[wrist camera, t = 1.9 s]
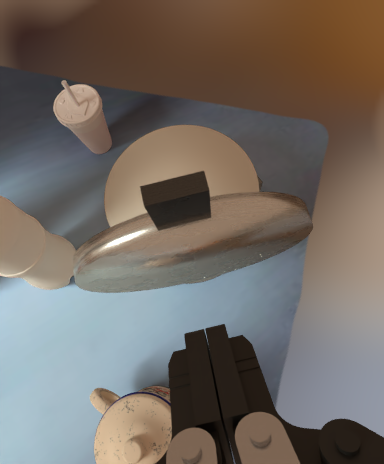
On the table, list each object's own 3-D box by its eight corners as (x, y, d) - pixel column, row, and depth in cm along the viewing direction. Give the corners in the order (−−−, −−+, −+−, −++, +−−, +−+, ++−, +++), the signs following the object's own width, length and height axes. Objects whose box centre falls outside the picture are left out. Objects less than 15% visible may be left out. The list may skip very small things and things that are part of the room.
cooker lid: (283, 245, 37) (287, 258, 37) (114, 286, 37) (116, 300, 37) (369, 124, 16) (382, 152, 15) (-27, 222, 16) (-26, 253, 15)
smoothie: (92, 169, 54) (49, 110, 40) (74, 140, 56) (27, 75, 42) (127, 147, 54) (97, 83, 41) (108, 119, 56) (73, 49, 43)
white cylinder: (102, 242, 50) (73, 217, 40) (173, 142, 54) (162, 98, 44) (210, 309, 45) (206, 299, 36) (277, 194, 50) (290, 158, 40)
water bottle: (27, 284, 49) (-158, 224, 25) (48, 237, 51) (-105, 140, 27) (73, 299, 47) (-75, 251, 24) (93, 250, 49) (-26, 161, 26)
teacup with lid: (208, 413, 42) (203, 437, 31) (164, 487, 40) (142, 540, 29) (129, 354, 44) (99, 357, 33) (85, 420, 42) (37, 445, 31)
